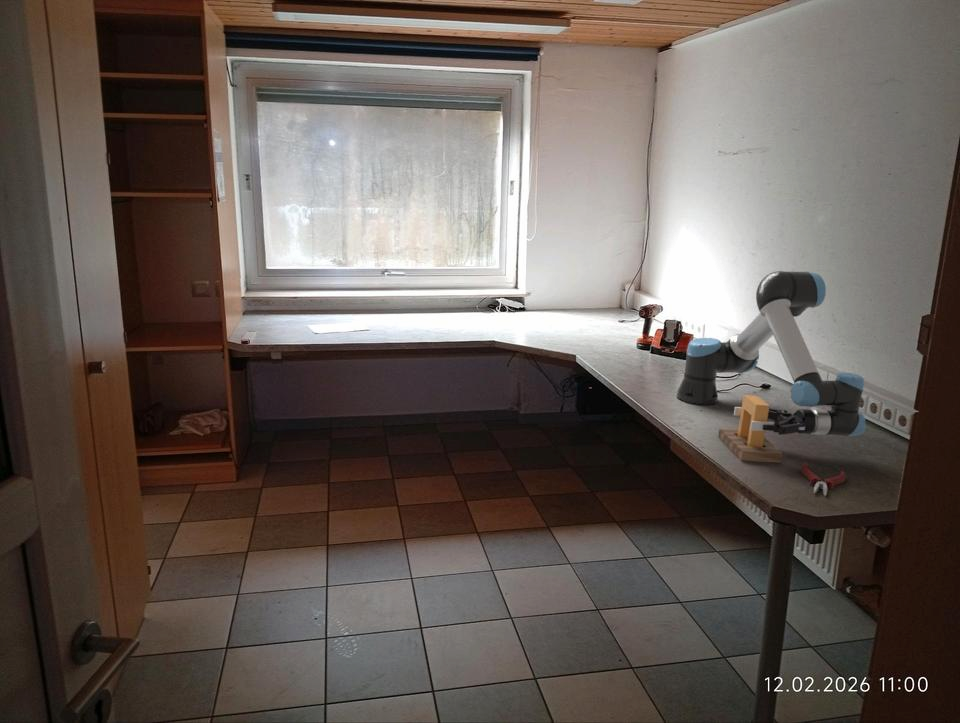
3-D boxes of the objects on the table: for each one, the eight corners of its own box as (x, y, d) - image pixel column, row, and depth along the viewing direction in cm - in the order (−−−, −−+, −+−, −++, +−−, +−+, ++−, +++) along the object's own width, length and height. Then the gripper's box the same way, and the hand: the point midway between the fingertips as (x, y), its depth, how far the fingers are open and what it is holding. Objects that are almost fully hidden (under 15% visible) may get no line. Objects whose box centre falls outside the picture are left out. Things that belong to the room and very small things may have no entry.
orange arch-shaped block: (736, 443, 219) (743, 395, 215) (748, 443, 219) (756, 395, 215) (748, 454, 209) (756, 404, 205) (761, 455, 209) (769, 405, 205)
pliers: (795, 493, 185) (797, 484, 184) (801, 469, 202) (802, 460, 201) (843, 504, 179) (845, 495, 179) (844, 478, 197) (846, 470, 196)
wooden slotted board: (718, 436, 224) (719, 428, 223) (754, 438, 224) (756, 430, 223) (740, 460, 204) (742, 451, 203) (780, 462, 204) (782, 453, 204)
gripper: (828, 448, 201) (756, 444, 200) (790, 420, 225) (726, 416, 224) (833, 423, 199) (760, 420, 198) (794, 398, 223) (729, 394, 223)
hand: (742, 418), depth 211 cm, fingers open, 13 cm apart
